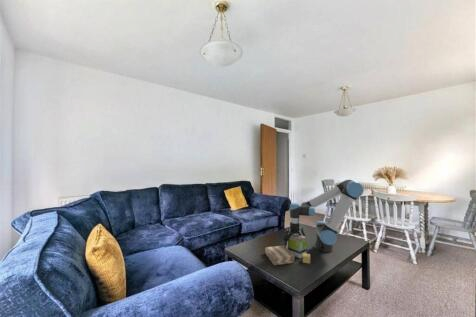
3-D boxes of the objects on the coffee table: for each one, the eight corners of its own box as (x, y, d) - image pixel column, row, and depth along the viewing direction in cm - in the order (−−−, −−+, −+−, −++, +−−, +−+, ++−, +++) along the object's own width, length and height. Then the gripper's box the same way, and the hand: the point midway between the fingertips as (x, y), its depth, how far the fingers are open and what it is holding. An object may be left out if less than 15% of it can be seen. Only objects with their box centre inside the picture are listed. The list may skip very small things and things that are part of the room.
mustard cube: (310, 260, 156) (310, 254, 156) (309, 263, 152) (309, 256, 152) (303, 259, 158) (303, 252, 158) (302, 262, 153) (302, 255, 154)
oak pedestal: (283, 251, 172) (283, 245, 172) (294, 262, 153) (294, 255, 153) (265, 253, 168) (265, 247, 168) (274, 265, 150) (274, 258, 150)
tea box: (307, 255, 165) (307, 236, 165) (299, 258, 159) (299, 239, 159) (291, 248, 177) (291, 231, 177) (284, 252, 171) (284, 234, 171)
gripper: (305, 220, 175) (305, 244, 175) (278, 221, 170) (278, 247, 170) (310, 222, 168) (310, 248, 168) (282, 224, 163) (282, 251, 163)
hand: (294, 248), depth 169 cm, fingers open, 13 cm apart
